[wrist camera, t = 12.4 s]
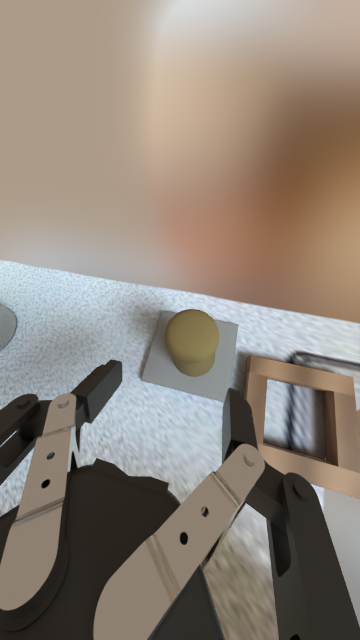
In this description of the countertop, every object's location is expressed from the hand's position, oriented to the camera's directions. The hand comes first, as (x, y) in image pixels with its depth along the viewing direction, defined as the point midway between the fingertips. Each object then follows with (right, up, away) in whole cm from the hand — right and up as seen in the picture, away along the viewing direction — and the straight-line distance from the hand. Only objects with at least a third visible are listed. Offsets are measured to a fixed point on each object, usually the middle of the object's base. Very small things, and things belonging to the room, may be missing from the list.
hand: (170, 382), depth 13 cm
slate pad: (+2, 0, +14) cm, 14 cm away
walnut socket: (+15, -8, +10) cm, 19 cm away
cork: (+3, -1, +13) cm, 13 cm away
